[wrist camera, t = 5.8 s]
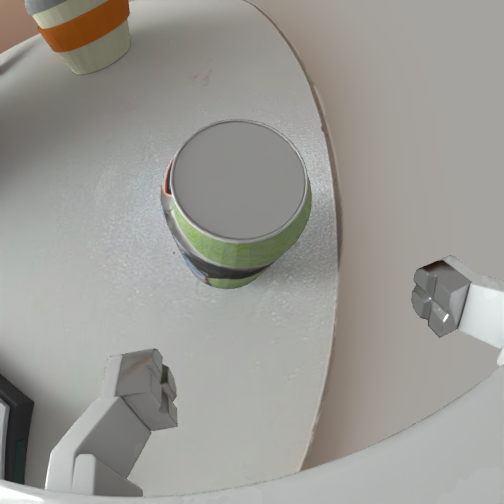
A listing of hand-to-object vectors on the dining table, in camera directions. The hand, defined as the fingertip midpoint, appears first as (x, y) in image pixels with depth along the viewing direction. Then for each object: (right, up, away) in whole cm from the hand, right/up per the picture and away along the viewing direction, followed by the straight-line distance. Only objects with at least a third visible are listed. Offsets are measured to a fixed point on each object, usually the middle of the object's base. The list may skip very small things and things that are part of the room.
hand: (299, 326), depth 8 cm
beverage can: (-3, +2, +13) cm, 14 cm away
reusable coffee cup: (-22, +29, +22) cm, 43 cm away
